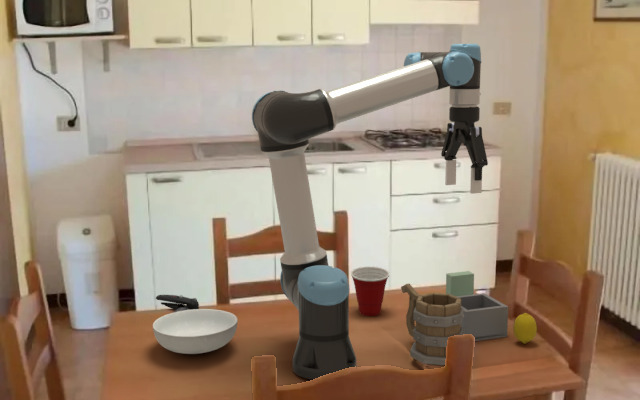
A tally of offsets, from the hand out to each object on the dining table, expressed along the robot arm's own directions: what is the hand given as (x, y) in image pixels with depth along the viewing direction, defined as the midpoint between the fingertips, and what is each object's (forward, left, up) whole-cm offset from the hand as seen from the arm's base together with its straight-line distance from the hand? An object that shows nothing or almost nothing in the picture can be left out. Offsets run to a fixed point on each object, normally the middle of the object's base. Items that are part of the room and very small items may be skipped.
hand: (462, 188), depth 200 cm
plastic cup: (-19, +17, -37) cm, 45 cm away
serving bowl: (-69, +8, -37) cm, 79 cm away
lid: (+5, +10, -37) cm, 38 cm away
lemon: (+9, -18, -37) cm, 42 cm away
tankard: (-16, -13, -37) cm, 42 cm away
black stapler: (-70, +37, -37) cm, 87 cm away
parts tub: (+1, -6, -37) cm, 37 cm away
